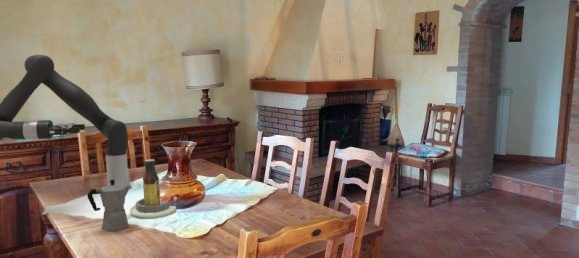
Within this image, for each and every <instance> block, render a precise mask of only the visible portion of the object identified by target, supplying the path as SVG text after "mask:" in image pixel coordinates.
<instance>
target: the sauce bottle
mask: <svg viewBox="0 0 579 258" xmlns="http://www.w3.org/2000/svg"><path fill="white" fill-rule="evenodd" d="M143 163H144V168H145V170H144V171H145V173H144V174H143V175H142V182H143V183H142V186H143V187H142V188H143V198H144V204H145V206H156V205H160V197H161V191H160V189H161V188H160V177H159V175H158V173H157V171H156V160H155V159H151V158H150V159H145V160H144V162H143Z"/></svg>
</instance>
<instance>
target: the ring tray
mask: <svg viewBox="0 0 579 258" xmlns="http://www.w3.org/2000/svg"><path fill="white" fill-rule="evenodd" d="M176 210H177V206H170V205H169V202H168V201H166V203H163V204H161V205H156V206H145V204H144V197H143V198H141V199H138V200H136V202H135V205H133V206H131V207H130V209H129V214H131V215H130V216H131V217H133V218H136V219H139V220H140V219H141V220H147V219H148V220H151V219H158V218H163V217H167V216H170V215H172V214H174V213H175V212H176Z"/></svg>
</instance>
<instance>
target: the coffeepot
mask: <svg viewBox="0 0 579 258" xmlns="http://www.w3.org/2000/svg"><path fill="white" fill-rule="evenodd" d="M114 182H115V180H110V183H111V185H108V184H107V185H105V186H104V185H103V186H101V187H98V188H93V189H92V188H91V189H90V190H89V191H88V193H87V194H86V197H87V199H88V201H89V203H90V205H91V207H92V209H93V211H95V212H97V211H101V207H97V204H96V201H95V199H94V197H93V195H100V199H101V203H102V206H103V208H104V211H103V218H102V219H103V220H102V226H101V228H102V230H104V231H106V232H116V231H117V232H118V231H122V230H124V229H126V228H127V227H128V226H129V220H128V218H127V216H128V215H127V212H126V210H125V207H124V206H125V204H126V203H125V202H126V196H127V194H128V192H129V191H130V189H131V188H132V185H131V184H130V185H121V184H114Z"/></svg>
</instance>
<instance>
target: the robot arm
mask: <svg viewBox="0 0 579 258" xmlns="http://www.w3.org/2000/svg"><path fill="white" fill-rule="evenodd" d="M24 68H25V71H26V72H25V75H24V76H23V77H22V79H21V80H20V81H19V82H18V83H17V84H16V86H14V87H13V88H12V90H10V91H9V92H8V93H7V94H6V96H5V97H4V98H3V99H2V100H1V102H0V141H2V140H3V139H4V138H7V139H10V140H33V141H34V140H51V139H53V138H54V136H66V135H69V134H79V133H81V131H82V130H85V129H86V125H85V124H84V123H83V124H82V123H81V124H80V123H74V122H73V123H71V122H70V123H56V124H55V125H54V124H53V121H52V120H50V119H45V120H44V119H43V120H42V119H40V120H38V119H37V120H27V121H14V119H15V118H16V117H17V116H18V114H19V112H20V111H21V110H22V108H23V107H24V105H25V104H26V102H27V101H28V100H29V98H30V97H31V96H32V94H34V92H35V90H37V89H38V87H39V86H40V85H41V84H42V85H44V86H45V87H47V88H48V89H49V90H51V91H52V92H53V93H54V94H55V96H57V97H58V98H59V99H60V100H61V101H62V102H64V103H65V104H66V105H67V106H68V107H69V108H71V110H73V111H74V112H76V113H77V114H78V115H80V116H81V117H82V118H84V119H85V120H87V121H88V122H89V123H90V124H92V125H93V126H94V127H95V128H96V129H97V130H98V131H99V133H101V134H102V135H103V136H104V137H105V138H106V139H107V147H106V148H105V152H104V153H105V164H106V178H107V179H106V181H107V186H108V185H111V183H110V180H115V182H114V184H121V185H130V186H131V180H130V179H131V177H130V168H129V167H128V155H127V154H128V153H127V149H128V145H129V143H128V142H129V141H128V127H127V125H126V124H125V123H124V122H123V121H120V120H116V119H114V118H112V117H111V116H109V115H107V113H105V112H104V111H103V110H102V109H101V108H100V106H99V105H98V103H97V102H96V100H94V98H93V97H92V96H91V95H90V94H89V93H87V92H86V91H85V90H84V89H83V88H81V86H78V85H77V84H76V83H74V82H72V81H71V80H69V79H67V78H65V77H64V76H62V75H61V74H60V73H58V71H56V70H55V63H54V60H53V59H52V58H51V57H50V56H48V55H44V54H33V55H30V56H28V57H27V58H26V59H25V61H24Z"/></svg>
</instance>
